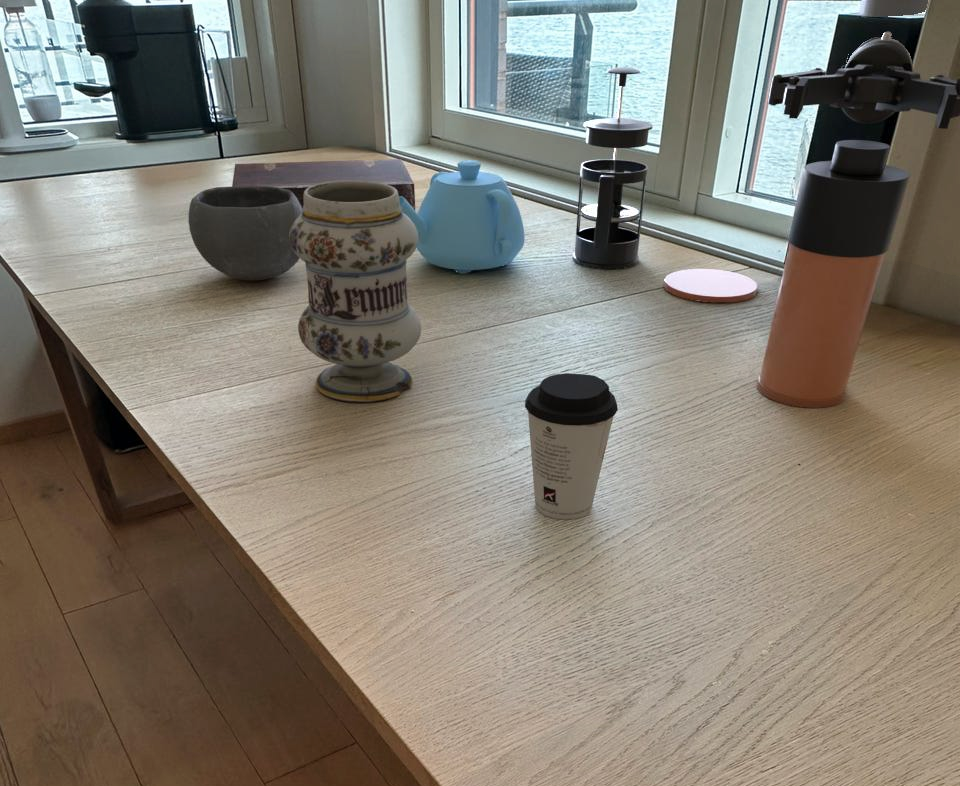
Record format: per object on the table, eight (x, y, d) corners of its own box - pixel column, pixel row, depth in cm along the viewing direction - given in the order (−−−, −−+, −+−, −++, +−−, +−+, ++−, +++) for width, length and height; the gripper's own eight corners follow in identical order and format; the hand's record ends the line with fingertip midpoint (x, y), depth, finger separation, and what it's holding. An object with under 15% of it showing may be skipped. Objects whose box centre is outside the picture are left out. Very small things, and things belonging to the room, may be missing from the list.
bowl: (302, 256, 123) (292, 178, 117) (320, 287, 112) (311, 203, 106) (195, 265, 119) (180, 185, 113) (203, 298, 108) (187, 212, 102)
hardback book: (236, 222, 138) (231, 187, 134) (240, 195, 152) (235, 163, 149) (415, 215, 142) (414, 181, 139) (402, 190, 156) (401, 159, 153)
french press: (580, 247, 128) (594, 62, 113) (643, 252, 126) (665, 64, 111) (564, 269, 119) (577, 72, 104) (631, 275, 117) (654, 75, 102)
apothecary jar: (393, 416, 82) (381, 210, 71) (283, 397, 85) (254, 197, 74) (441, 370, 91) (437, 181, 79) (339, 354, 94) (321, 171, 82)
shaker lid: (889, 236, 80) (917, 139, 75) (888, 262, 74) (918, 157, 69) (792, 227, 83) (813, 132, 78) (783, 251, 77) (805, 149, 71)
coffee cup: (544, 535, 66) (552, 412, 59) (506, 493, 71) (509, 375, 64) (622, 516, 68) (638, 396, 62) (580, 477, 73) (590, 362, 66)
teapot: (555, 270, 118) (561, 168, 110) (432, 296, 110) (428, 187, 102) (475, 238, 131) (475, 144, 123) (359, 259, 122) (351, 159, 114)
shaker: (847, 380, 89) (888, 237, 80) (843, 413, 83) (887, 261, 74) (761, 368, 92) (792, 227, 83) (751, 400, 85) (784, 251, 77)
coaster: (761, 280, 116) (762, 274, 115) (750, 308, 107) (751, 301, 106) (673, 270, 119) (674, 264, 118) (655, 296, 110) (656, 290, 110)
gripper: (769, 35, 97) (744, 52, 82) (1010, 45, 91) (1032, 66, 75) (755, 111, 102) (729, 141, 87) (983, 126, 95) (999, 162, 80)
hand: (870, 107), depth 81 cm, fingers open, 13 cm apart
